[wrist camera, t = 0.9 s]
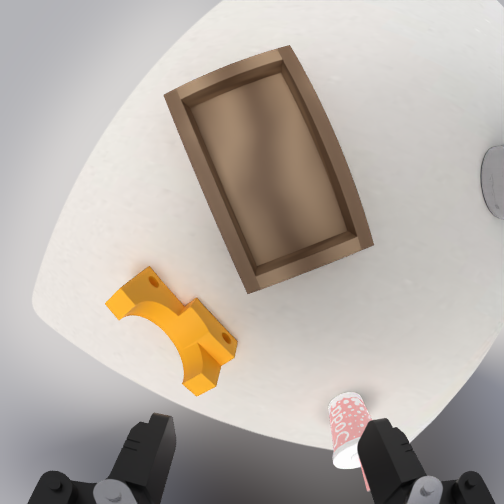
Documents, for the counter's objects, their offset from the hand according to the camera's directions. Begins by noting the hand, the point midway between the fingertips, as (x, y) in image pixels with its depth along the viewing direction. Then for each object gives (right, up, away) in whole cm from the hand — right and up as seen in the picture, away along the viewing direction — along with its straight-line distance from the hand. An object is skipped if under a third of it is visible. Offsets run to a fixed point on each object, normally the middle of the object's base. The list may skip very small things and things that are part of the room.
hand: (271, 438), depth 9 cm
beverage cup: (+11, -12, +21) cm, 27 cm away
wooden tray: (+1, +15, +15) cm, 21 cm away
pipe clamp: (-8, +1, +19) cm, 20 cm away
